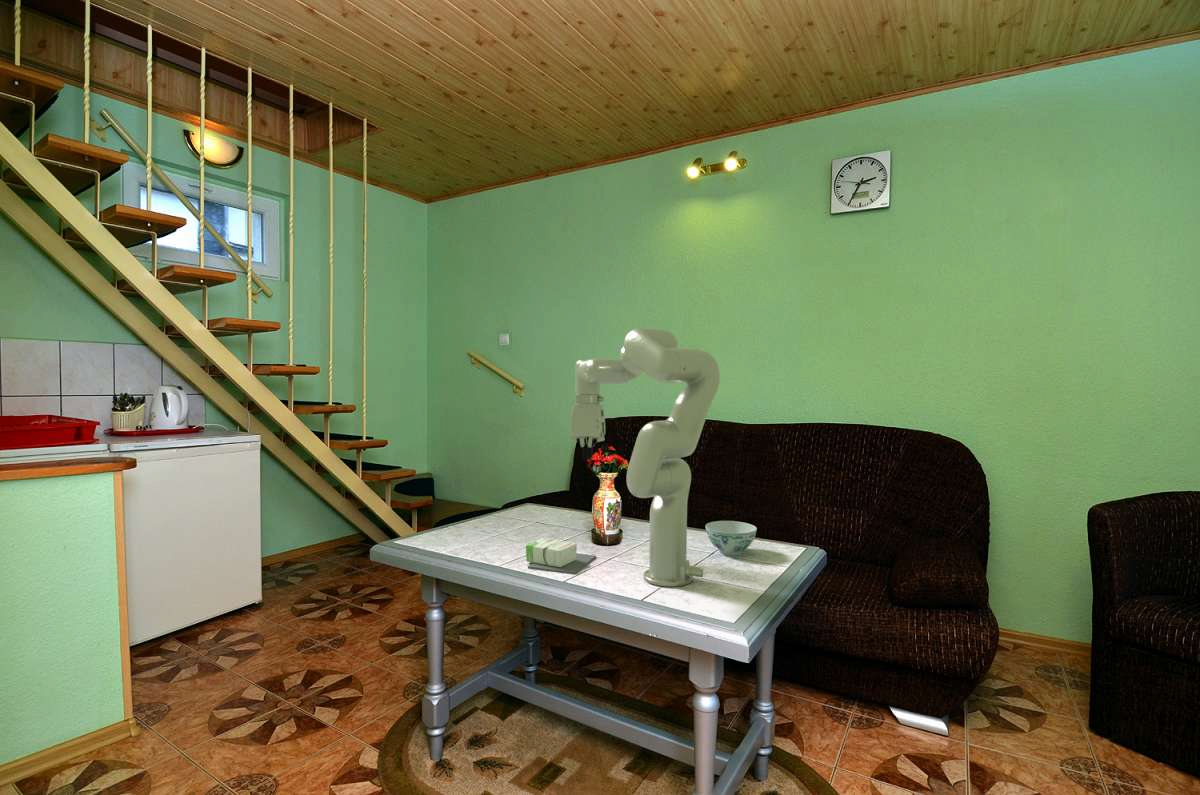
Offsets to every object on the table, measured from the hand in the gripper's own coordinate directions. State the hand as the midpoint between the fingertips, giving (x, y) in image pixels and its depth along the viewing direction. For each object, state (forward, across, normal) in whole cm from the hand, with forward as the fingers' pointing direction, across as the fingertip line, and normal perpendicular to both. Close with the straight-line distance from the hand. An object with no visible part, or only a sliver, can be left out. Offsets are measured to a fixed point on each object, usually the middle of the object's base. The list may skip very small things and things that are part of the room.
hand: (587, 459), depth 180 cm
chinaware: (+27, -42, -10) cm, 51 cm away
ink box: (+24, +10, +17) cm, 31 cm away
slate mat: (+27, +1, +17) cm, 32 cm away
